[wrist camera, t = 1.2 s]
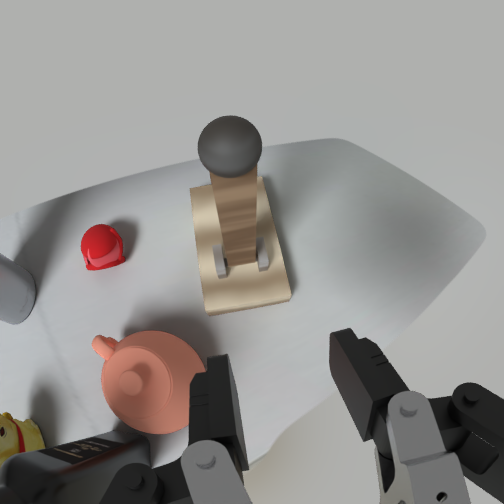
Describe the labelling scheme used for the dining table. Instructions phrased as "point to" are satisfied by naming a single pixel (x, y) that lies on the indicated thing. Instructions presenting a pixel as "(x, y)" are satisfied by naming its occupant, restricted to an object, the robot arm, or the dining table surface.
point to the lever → (233, 182)
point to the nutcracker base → (243, 276)
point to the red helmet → (102, 247)
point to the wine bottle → (70, 469)
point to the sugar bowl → (148, 379)
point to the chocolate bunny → (18, 436)
